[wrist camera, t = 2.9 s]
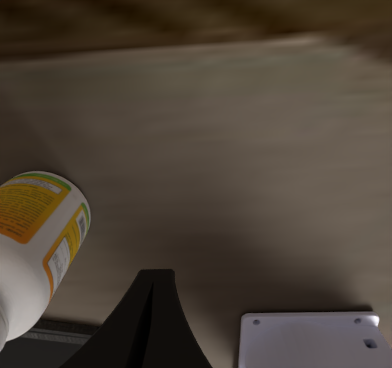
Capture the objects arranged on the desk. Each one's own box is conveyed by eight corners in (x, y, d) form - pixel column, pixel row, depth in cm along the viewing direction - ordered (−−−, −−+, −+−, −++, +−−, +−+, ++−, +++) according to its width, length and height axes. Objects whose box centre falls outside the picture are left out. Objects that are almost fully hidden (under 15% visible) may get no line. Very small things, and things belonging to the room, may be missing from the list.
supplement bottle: (-20, 196, 19) (-207, 331, 10) (52, 151, 18) (-86, 257, 9) (42, 261, 21) (-69, 424, 12) (110, 224, 20) (44, 371, 11)
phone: (107, 409, 26) (-94, 388, 24) (111, 394, 27) (-82, 374, 25) (117, 337, 23) (-114, 309, 21) (120, 324, 24) (-99, 296, 22)
